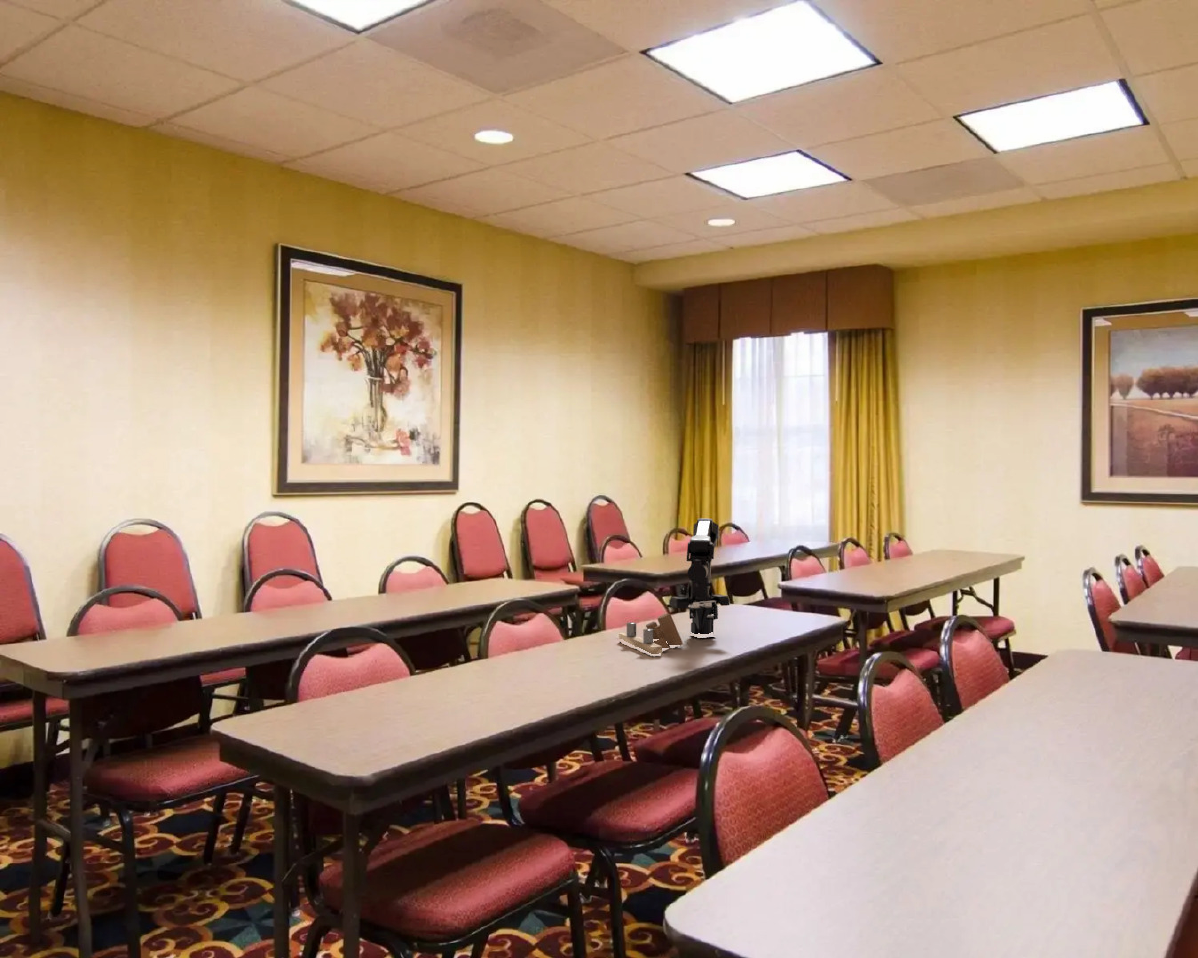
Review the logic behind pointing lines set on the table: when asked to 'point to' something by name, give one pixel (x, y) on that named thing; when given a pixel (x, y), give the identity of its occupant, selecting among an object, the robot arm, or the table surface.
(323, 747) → the table surface
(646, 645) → the maple stop rail
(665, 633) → the wooden block set
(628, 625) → the steel bench dogs
